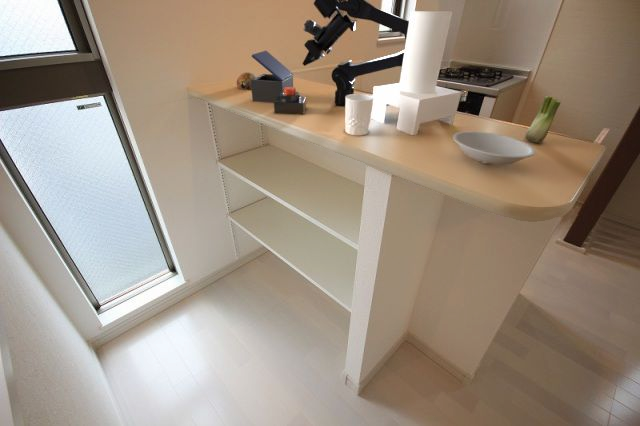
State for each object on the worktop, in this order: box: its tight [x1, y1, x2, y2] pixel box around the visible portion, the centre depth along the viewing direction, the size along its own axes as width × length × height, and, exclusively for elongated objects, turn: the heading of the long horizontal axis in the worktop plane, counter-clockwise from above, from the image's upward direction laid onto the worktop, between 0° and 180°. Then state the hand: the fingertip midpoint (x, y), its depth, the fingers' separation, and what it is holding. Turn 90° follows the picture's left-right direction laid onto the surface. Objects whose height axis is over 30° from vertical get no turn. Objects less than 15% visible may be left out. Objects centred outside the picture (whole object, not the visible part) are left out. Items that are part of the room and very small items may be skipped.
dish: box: [452, 130, 536, 165], centre depth 71 cm, size 18×14×5 cm
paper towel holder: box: [370, 10, 462, 136], centre depth 90 cm, size 19×19×30 cm
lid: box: [251, 50, 294, 81], centre depth 113 cm, size 13×13×1 cm
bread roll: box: [236, 71, 257, 90], centre depth 135 cm, size 10×10×8 cm
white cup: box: [344, 93, 374, 137], centre depth 87 cm, size 8×8×10 cm
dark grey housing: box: [250, 73, 294, 104], centre depth 118 cm, size 13×13×8 cm
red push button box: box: [273, 91, 307, 115], centre depth 105 cm, size 10×8×6 cm
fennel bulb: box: [524, 95, 561, 144], centre depth 81 cm, size 6×5×12 cm
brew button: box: [284, 86, 297, 95], centre depth 102 cm, size 4×4×2 cm
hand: (303, 64), depth 110 cm, fingers closed
